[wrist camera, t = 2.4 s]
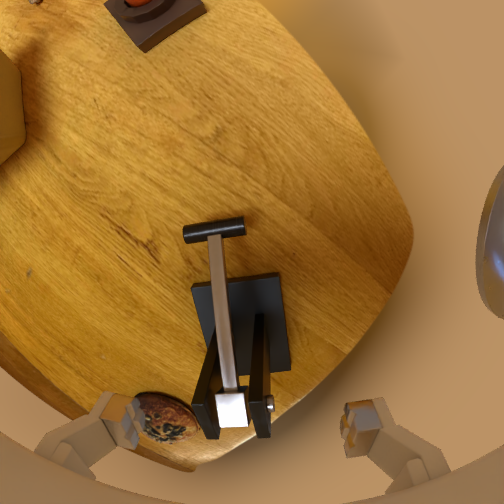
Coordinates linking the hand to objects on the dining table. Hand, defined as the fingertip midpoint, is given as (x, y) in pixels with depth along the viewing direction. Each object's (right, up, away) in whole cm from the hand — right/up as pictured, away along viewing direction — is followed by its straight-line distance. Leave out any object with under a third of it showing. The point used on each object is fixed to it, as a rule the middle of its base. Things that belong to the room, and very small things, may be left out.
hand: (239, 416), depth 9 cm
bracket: (0, -2, +21) cm, 21 cm away
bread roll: (-13, -18, +27) cm, 35 cm away
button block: (-10, +33, +11) cm, 37 cm away
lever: (-2, +1, +13) cm, 13 cm away
